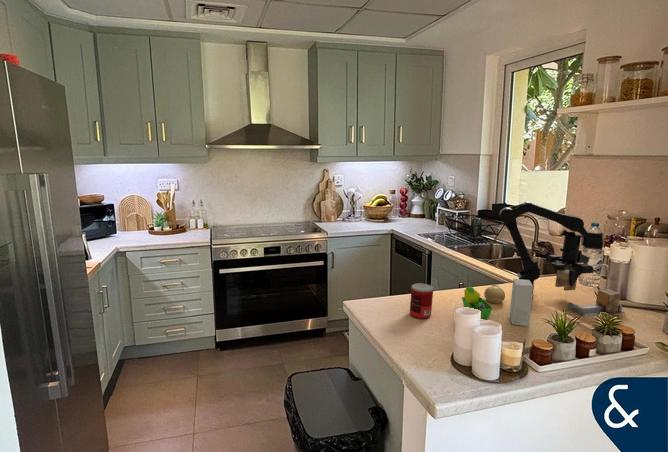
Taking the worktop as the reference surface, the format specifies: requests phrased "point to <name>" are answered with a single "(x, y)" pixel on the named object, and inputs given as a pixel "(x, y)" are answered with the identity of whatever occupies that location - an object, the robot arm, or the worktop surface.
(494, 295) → the onion
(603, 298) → the taupe stone cube
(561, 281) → the grey stone block
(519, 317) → the skincare box
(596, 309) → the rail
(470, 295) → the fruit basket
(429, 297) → the canned food
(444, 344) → the worktop surface
